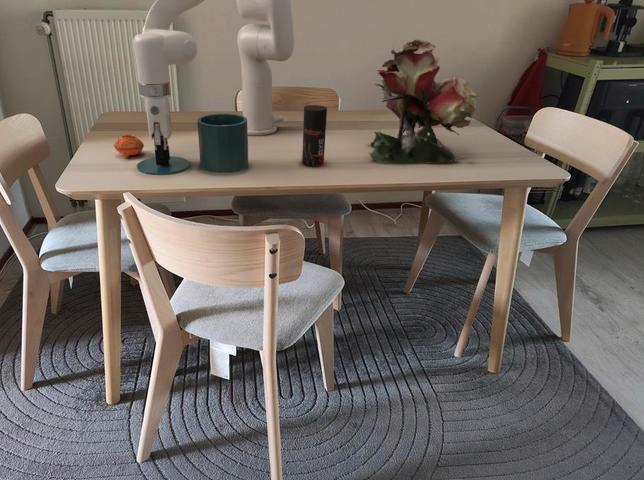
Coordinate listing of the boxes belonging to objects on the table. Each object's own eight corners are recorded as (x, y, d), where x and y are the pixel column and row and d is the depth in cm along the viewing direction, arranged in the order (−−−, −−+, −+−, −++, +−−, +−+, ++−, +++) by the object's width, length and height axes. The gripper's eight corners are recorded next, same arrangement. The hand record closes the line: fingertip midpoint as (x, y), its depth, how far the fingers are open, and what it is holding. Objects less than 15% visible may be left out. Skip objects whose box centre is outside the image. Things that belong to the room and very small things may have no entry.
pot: (107, 157, 137) (107, 132, 135) (130, 157, 144) (130, 133, 142) (127, 162, 133) (127, 136, 131) (149, 161, 140) (150, 136, 138)
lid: (191, 159, 138) (189, 137, 135) (188, 176, 127) (186, 153, 123) (141, 160, 137) (138, 138, 134) (134, 177, 125) (130, 154, 122)
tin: (246, 158, 139) (245, 113, 133) (249, 174, 129) (248, 125, 122) (201, 159, 138) (198, 113, 132) (200, 175, 127) (196, 126, 121)
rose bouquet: (476, 164, 138) (502, 46, 123) (372, 165, 136) (386, 45, 121) (444, 137, 160) (462, 35, 145) (354, 138, 158) (364, 34, 143)
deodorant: (317, 168, 133) (320, 111, 125) (298, 164, 136) (299, 108, 128) (327, 162, 137) (331, 107, 130) (308, 158, 140) (311, 104, 132)
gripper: (168, 96, 115) (175, 172, 124) (173, 83, 129) (179, 152, 138) (134, 96, 114) (145, 173, 124) (143, 83, 128) (152, 153, 137)
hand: (163, 162), depth 131 cm, fingers closed on lid, 2 cm apart
